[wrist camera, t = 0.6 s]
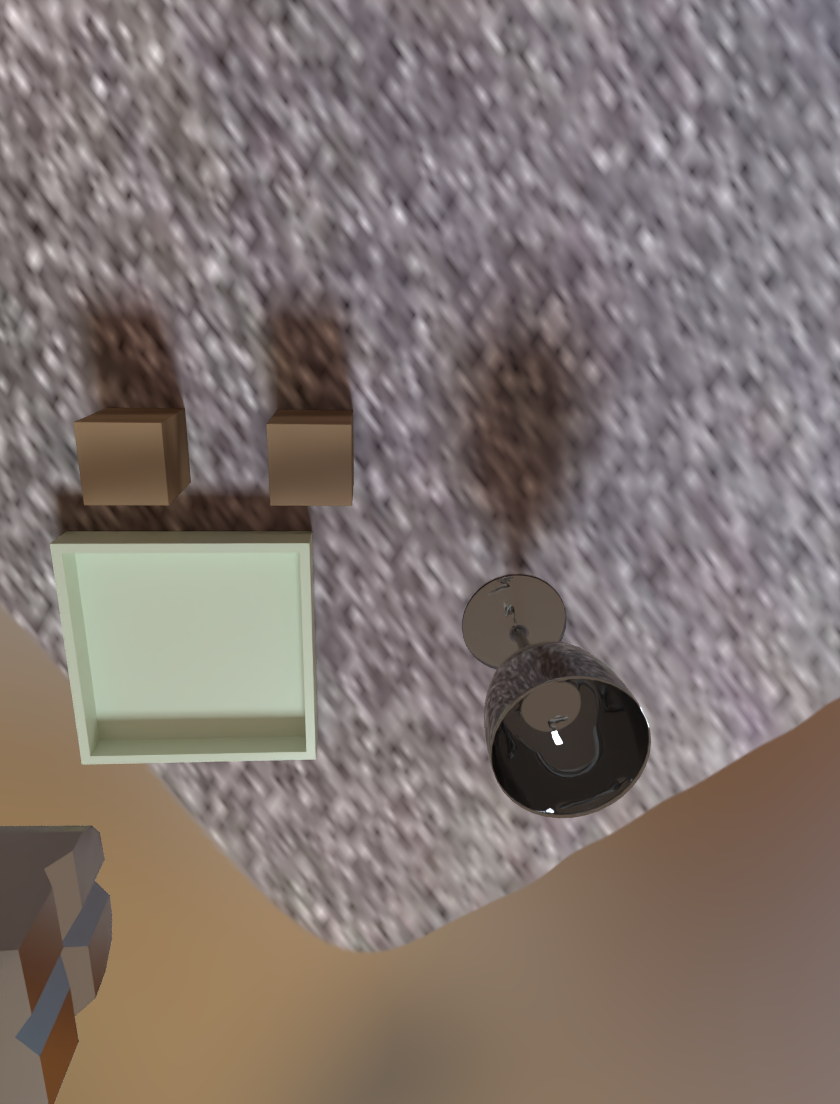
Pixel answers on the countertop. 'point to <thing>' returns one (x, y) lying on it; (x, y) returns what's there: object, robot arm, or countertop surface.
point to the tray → (189, 644)
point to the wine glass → (551, 705)
